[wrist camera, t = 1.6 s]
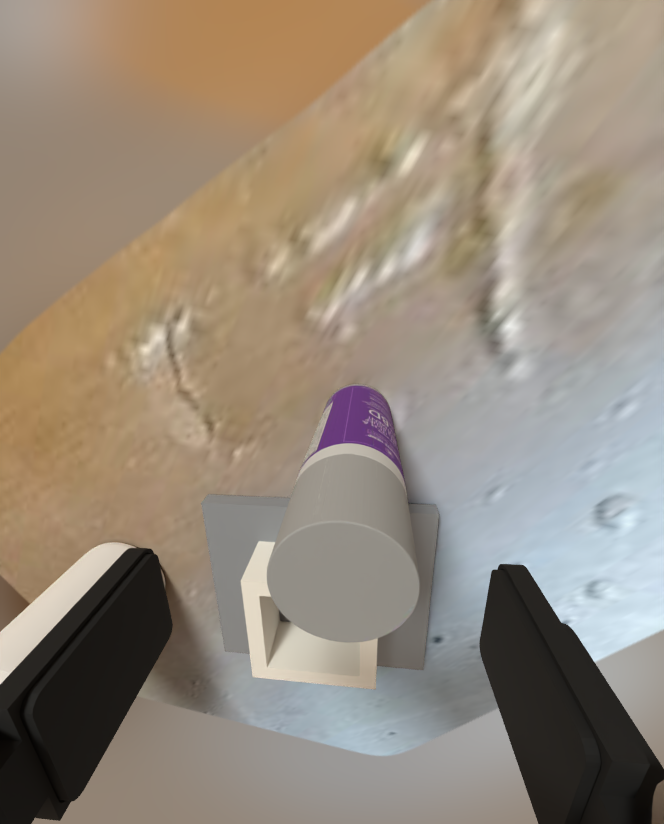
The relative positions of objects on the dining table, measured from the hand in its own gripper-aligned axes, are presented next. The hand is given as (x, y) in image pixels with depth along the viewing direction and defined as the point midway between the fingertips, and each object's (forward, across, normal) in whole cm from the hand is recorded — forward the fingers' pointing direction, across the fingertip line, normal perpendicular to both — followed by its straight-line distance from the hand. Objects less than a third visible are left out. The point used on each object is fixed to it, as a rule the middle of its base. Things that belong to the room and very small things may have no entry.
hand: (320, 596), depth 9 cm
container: (+16, -1, 0) cm, 16 cm away
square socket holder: (+15, +2, +15) cm, 22 cm away
